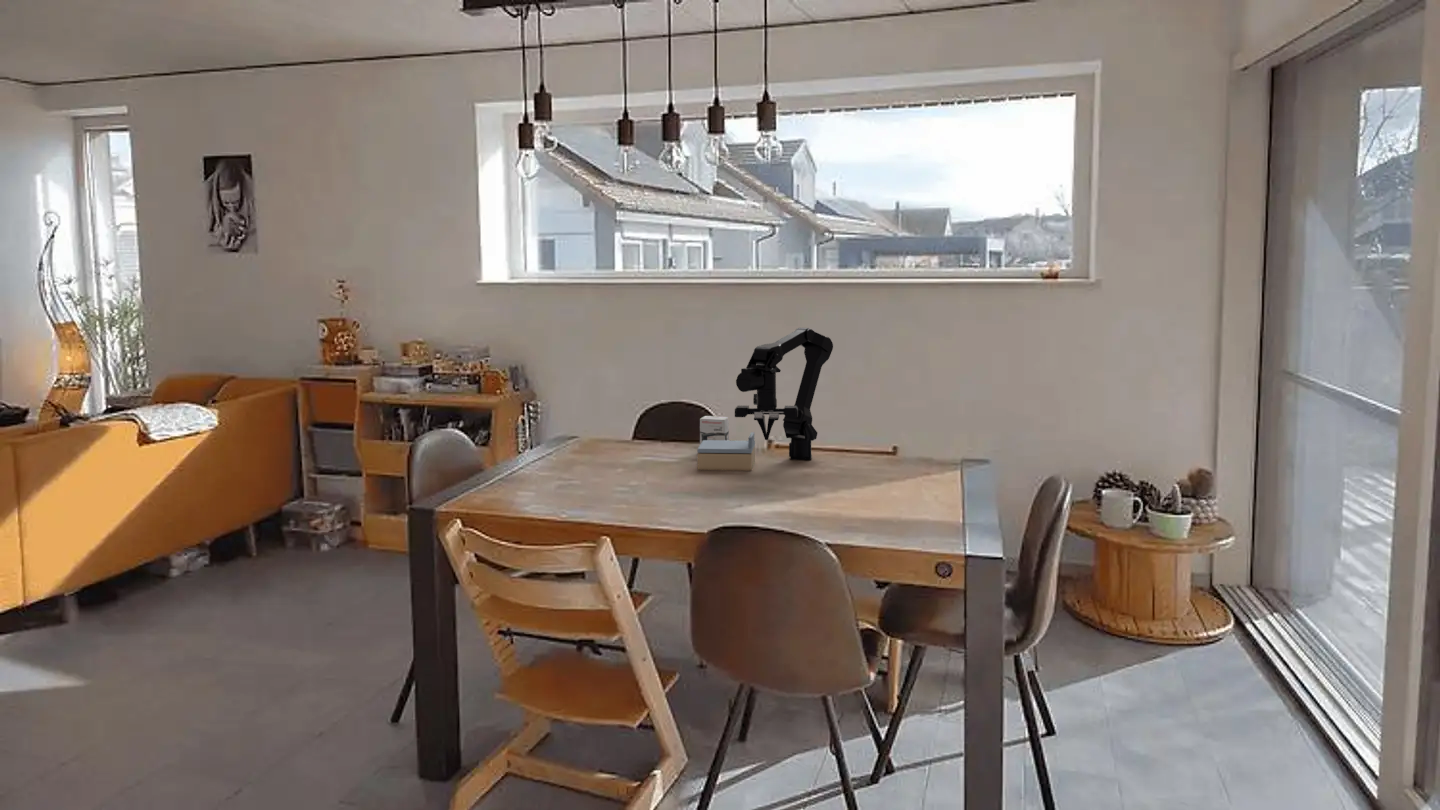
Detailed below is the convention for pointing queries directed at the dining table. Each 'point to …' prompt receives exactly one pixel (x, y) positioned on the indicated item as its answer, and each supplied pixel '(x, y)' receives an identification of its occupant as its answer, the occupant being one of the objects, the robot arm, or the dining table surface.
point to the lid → (727, 446)
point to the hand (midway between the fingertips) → (766, 439)
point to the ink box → (714, 428)
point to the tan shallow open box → (726, 461)
